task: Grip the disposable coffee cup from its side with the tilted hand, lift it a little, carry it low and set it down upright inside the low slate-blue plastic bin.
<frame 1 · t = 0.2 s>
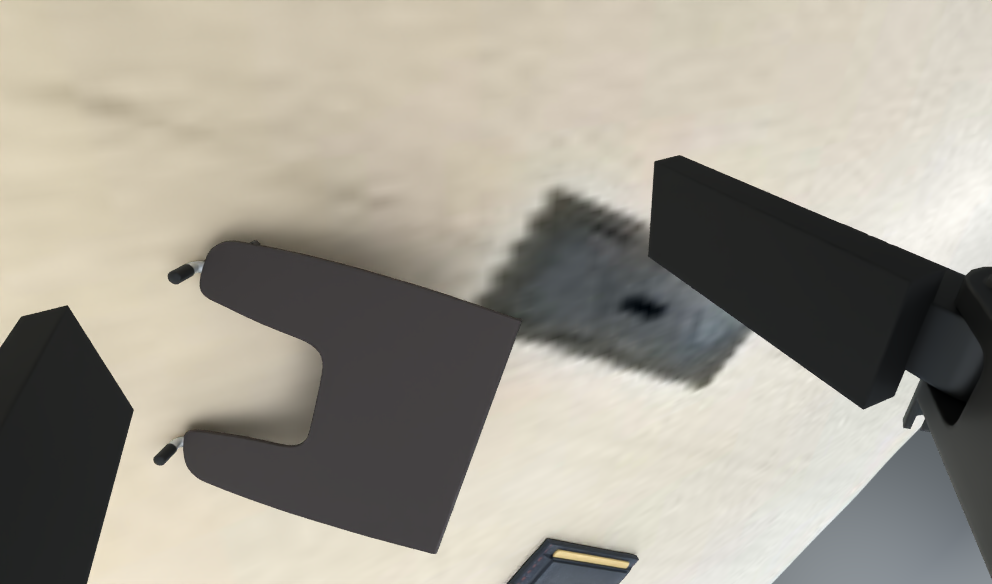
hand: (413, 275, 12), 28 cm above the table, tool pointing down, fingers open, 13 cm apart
dark gray curved stand: (315, 361, 45), on the table
wallet: (562, 581, 76), on the table
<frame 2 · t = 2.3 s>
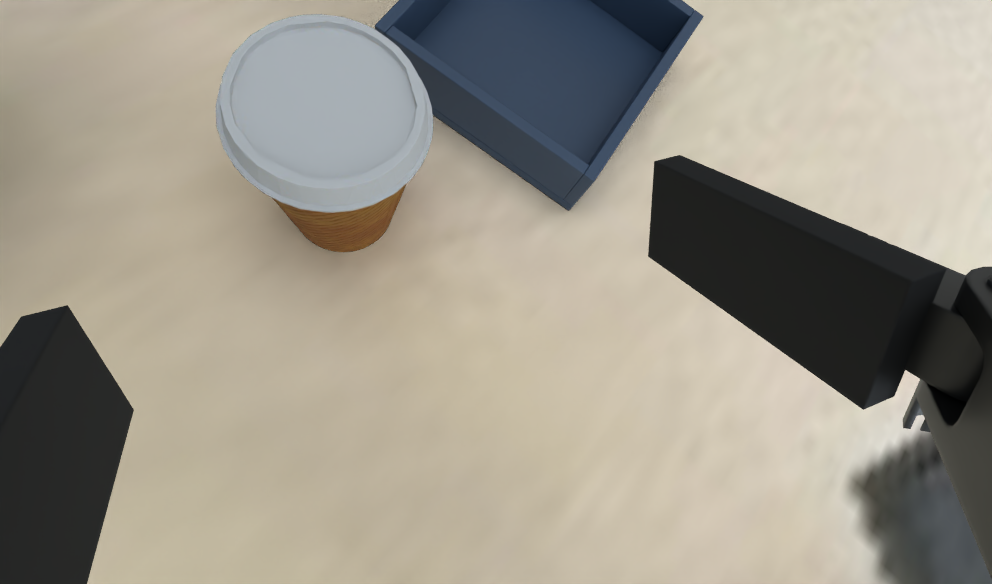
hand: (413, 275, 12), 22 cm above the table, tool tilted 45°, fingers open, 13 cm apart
disposable coffee cup: (343, 207, 35), on the table
bin: (532, 66, 41), on the table
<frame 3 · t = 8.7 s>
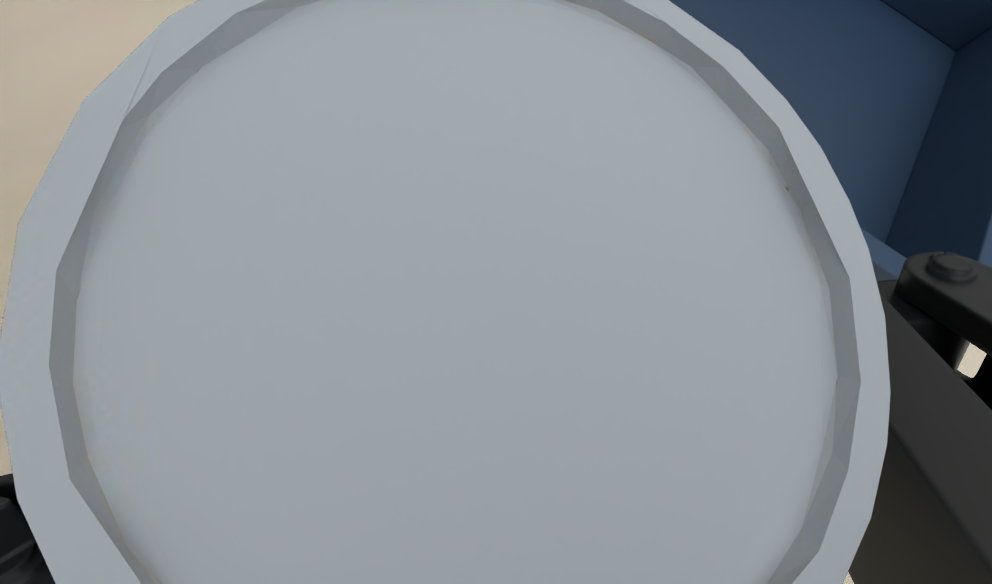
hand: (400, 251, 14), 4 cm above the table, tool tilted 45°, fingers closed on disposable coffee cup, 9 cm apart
disposable coffee cup: (428, 390, 17), on the table, touching gripper
bin: (744, 82, 22), on the table
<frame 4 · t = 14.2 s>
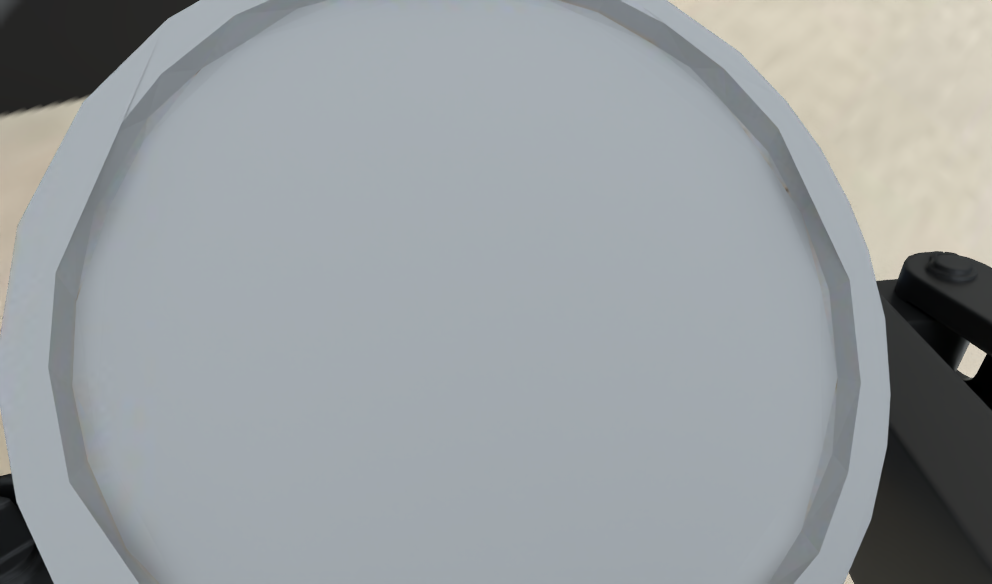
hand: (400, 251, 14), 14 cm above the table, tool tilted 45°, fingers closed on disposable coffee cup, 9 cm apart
disposable coffee cup: (428, 390, 17), point 10 cm above the table, touching gripper
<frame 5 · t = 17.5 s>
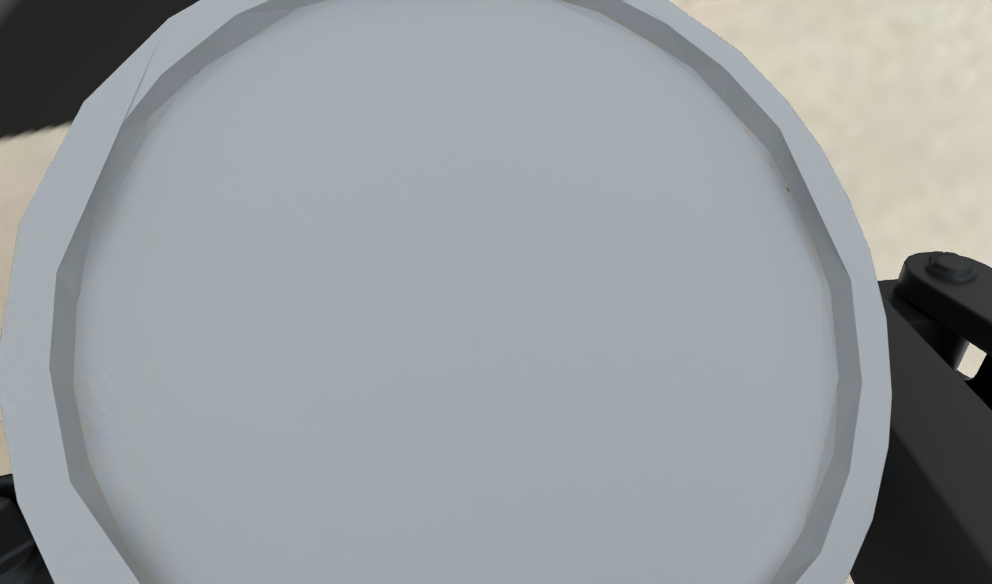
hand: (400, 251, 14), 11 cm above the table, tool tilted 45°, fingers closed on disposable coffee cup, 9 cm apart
disposable coffee cup: (428, 390, 17), point 7 cm above the table, touching gripper
when the fingers open (5 cm above the table, at t = 20.1 s): disposable coffee cup stays where it is, resting on bin.
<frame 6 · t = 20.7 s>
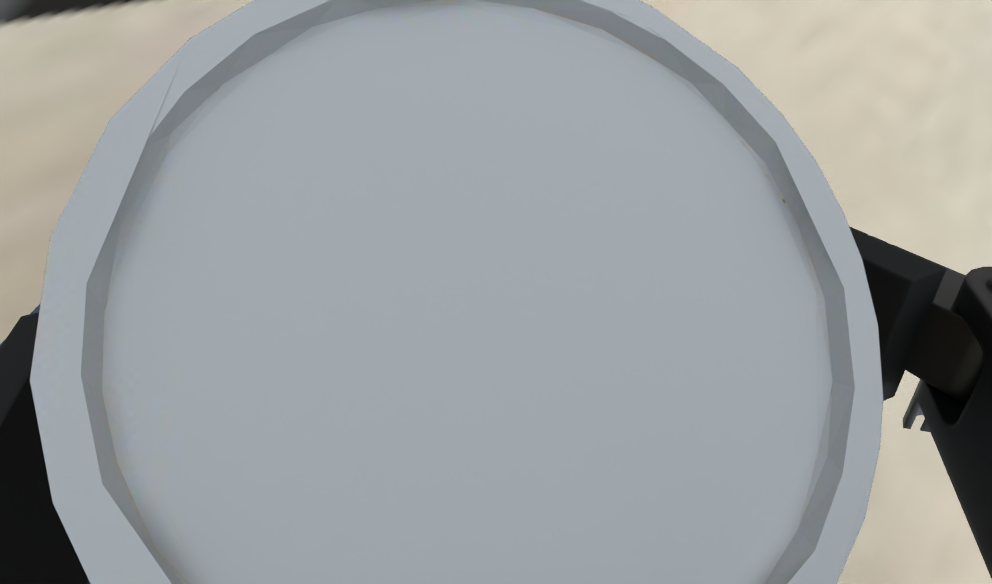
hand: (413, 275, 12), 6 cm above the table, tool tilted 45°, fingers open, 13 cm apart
disposable coffee cup: (430, 393, 17), point 1 cm above the table, touching bin
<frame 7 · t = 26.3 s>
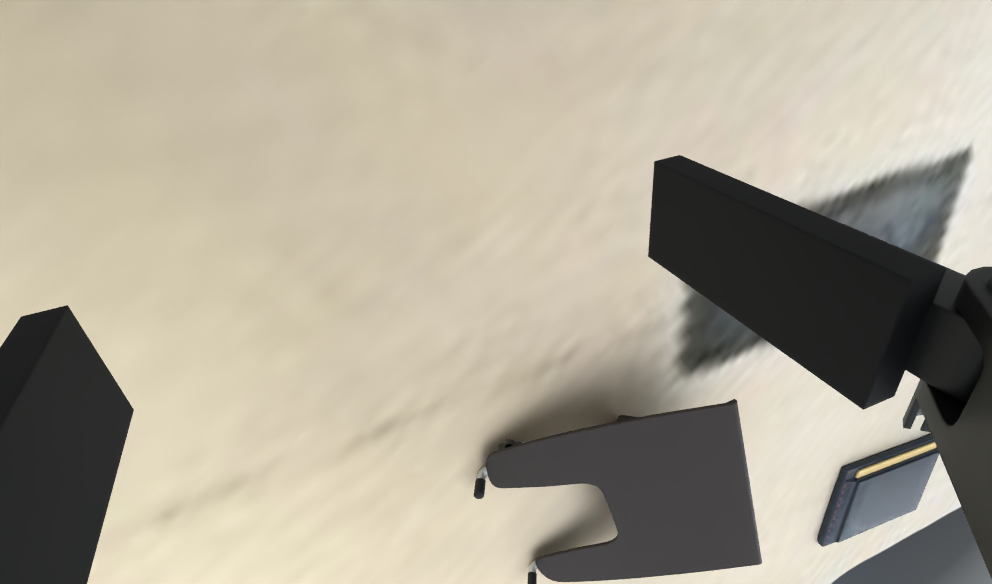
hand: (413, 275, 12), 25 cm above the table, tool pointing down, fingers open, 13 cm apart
dark gray curved stand: (586, 470, 55), on the table
wallet: (876, 485, 79), on the table
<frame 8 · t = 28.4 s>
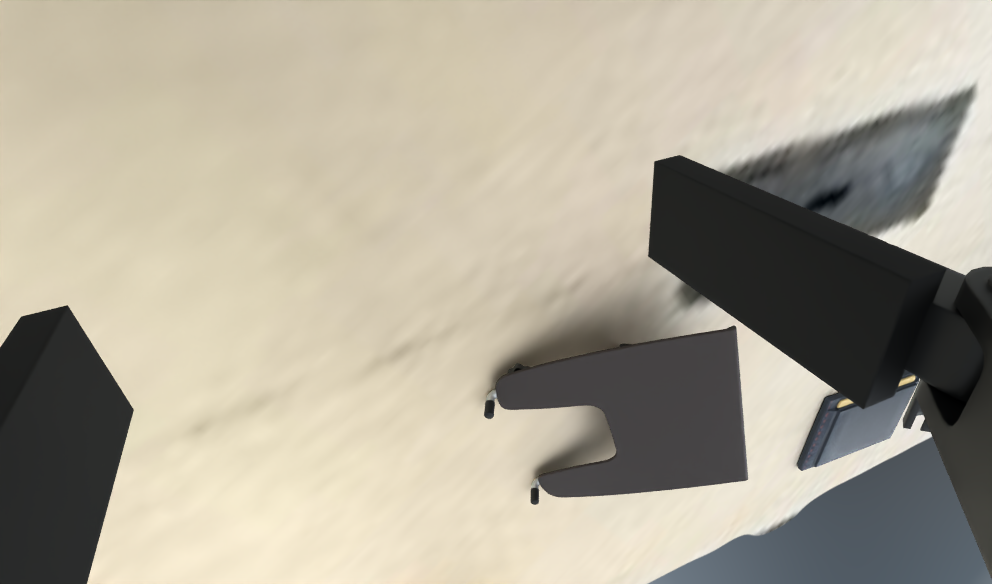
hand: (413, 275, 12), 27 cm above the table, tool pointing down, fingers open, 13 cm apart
dark gray curved stand: (588, 396, 58), on the table
wallet: (855, 415, 84), on the table
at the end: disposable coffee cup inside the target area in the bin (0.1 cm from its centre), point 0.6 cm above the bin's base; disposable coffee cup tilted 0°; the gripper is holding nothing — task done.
